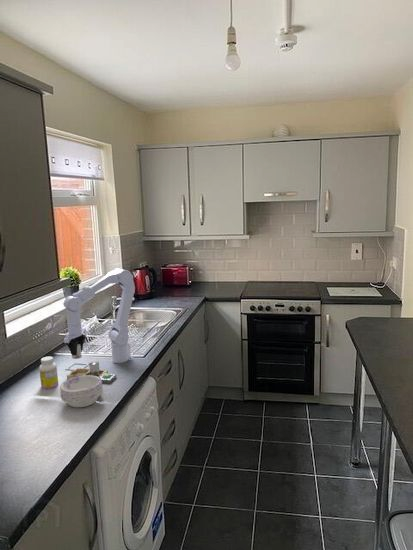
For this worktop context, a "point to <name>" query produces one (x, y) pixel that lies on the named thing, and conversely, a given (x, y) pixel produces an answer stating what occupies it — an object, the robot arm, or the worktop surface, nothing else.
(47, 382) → the supplement bottle
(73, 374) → the wooden compartment tray
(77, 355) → the billet
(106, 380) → the grey square socket block
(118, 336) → the robot arm
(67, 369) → the tray
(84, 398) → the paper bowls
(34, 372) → the worktop surface
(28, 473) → the worktop surface
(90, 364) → the seated billet
